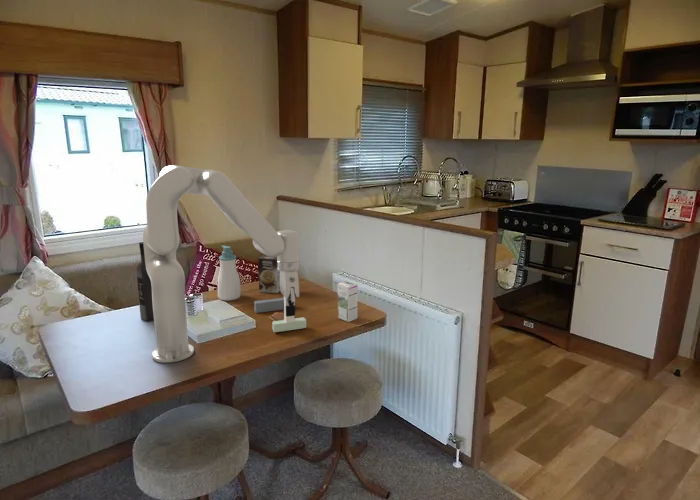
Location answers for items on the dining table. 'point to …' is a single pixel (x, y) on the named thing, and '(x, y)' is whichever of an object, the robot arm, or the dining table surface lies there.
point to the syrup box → (347, 301)
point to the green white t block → (288, 322)
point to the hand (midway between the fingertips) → (289, 313)
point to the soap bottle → (228, 276)
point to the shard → (277, 316)
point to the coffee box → (268, 274)
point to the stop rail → (268, 305)
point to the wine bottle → (144, 288)
